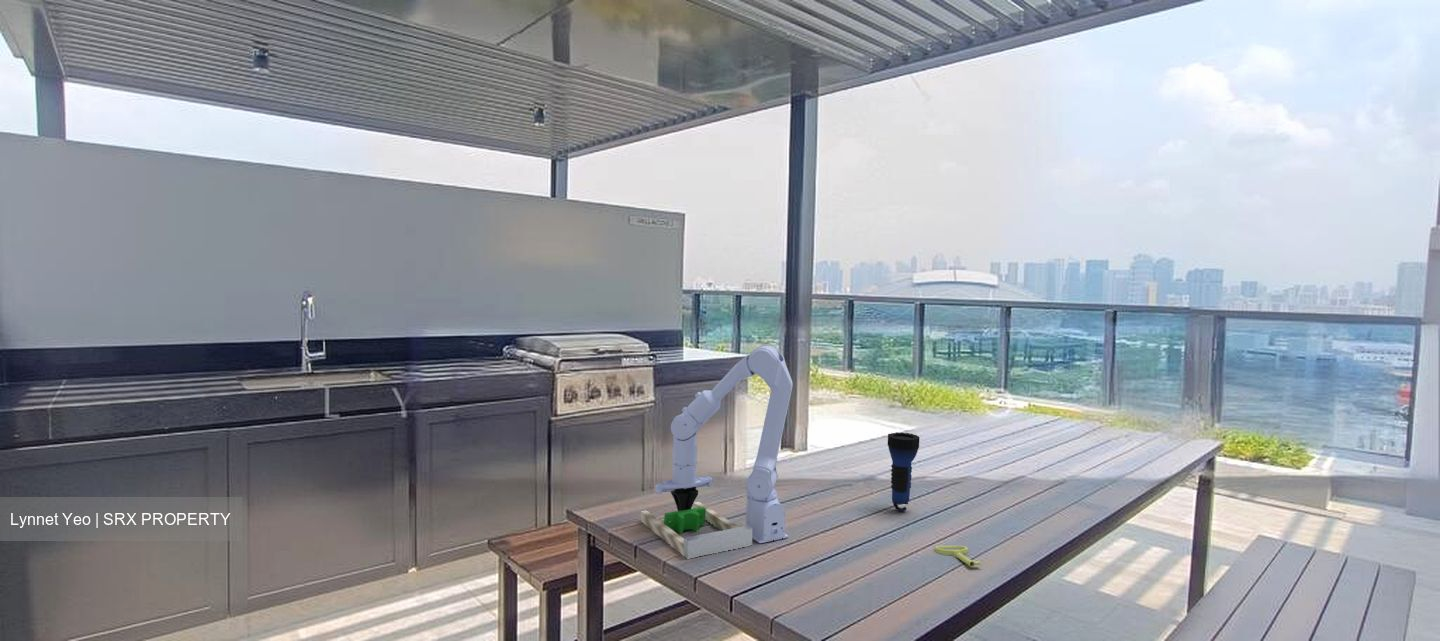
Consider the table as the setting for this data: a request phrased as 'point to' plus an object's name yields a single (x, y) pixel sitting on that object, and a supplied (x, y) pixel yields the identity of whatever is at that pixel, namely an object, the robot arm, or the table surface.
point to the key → (957, 553)
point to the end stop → (717, 541)
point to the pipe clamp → (685, 519)
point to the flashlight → (902, 465)
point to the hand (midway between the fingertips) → (683, 518)
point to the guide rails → (672, 536)
